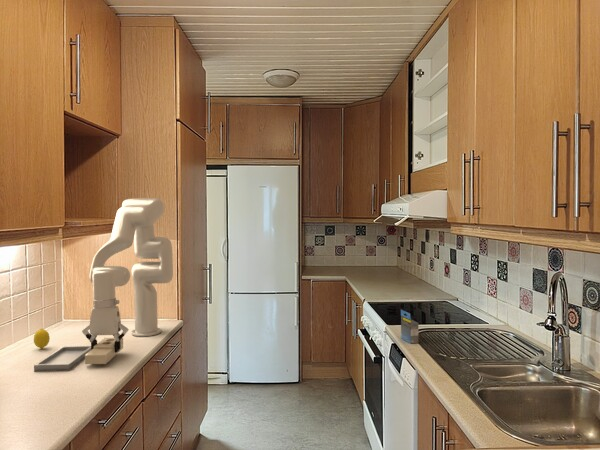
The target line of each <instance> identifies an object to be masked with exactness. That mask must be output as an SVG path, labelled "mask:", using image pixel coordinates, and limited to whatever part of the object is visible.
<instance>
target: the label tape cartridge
mask: <svg viewBox="0 0 600 450" xmlns="http://www.w3.org/2000/svg"><path fill="white" fill-rule="evenodd" d="M400 335H401V336H400V339H401V340H403V341H405V342H407V343H408V344H410V345H411V344H419V322H417V321H415V320H414V319H412V318H411V313H409V312H407V311H406V310H404V309H400Z"/></svg>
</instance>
